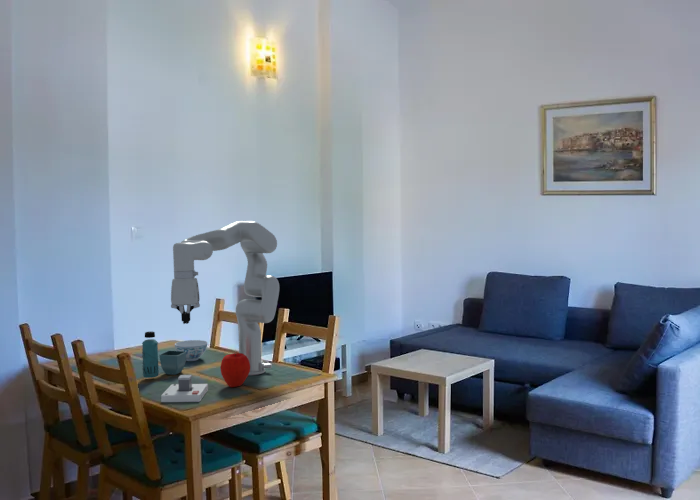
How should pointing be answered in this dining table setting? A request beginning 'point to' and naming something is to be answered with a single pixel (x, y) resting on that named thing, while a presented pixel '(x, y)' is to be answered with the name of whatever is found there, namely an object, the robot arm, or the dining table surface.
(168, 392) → the socket plate
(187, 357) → the chinaware
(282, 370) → the dining table surface
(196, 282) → the robot arm
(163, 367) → the flower pot
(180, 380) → the plug
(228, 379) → the apple
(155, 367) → the beverage bottle
